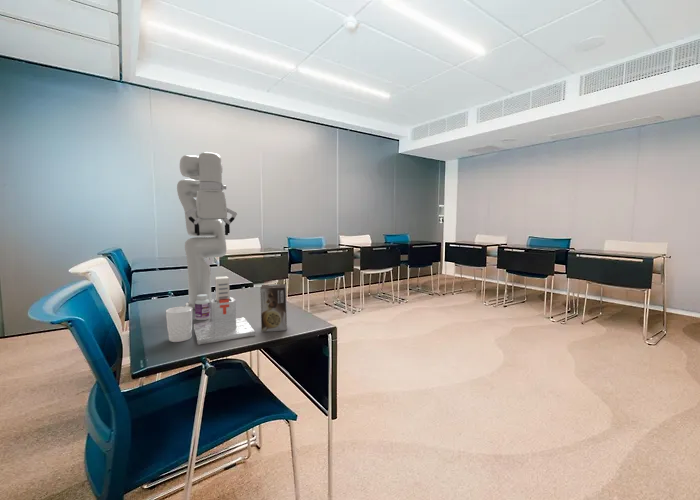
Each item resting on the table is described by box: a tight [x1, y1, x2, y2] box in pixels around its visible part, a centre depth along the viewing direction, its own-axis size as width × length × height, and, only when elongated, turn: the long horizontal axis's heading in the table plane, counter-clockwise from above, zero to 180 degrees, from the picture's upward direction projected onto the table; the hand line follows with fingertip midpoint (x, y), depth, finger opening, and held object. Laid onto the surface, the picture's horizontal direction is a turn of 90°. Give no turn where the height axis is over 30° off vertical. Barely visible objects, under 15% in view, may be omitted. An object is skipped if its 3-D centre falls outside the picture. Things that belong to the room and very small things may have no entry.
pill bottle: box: [194, 294, 210, 321], centre depth 129 cm, size 5×5×10 cm
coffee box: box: [259, 283, 288, 333], centre depth 118 cm, size 9×6×16 cm
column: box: [214, 275, 231, 303], centre depth 113 cm, size 5×4×18 cm
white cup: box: [165, 305, 194, 343], centre depth 107 cm, size 8×8×10 cm
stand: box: [193, 296, 256, 346], centre depth 114 cm, size 18×18×12 cm
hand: (212, 235), depth 117 cm, fingers open, 9 cm apart
